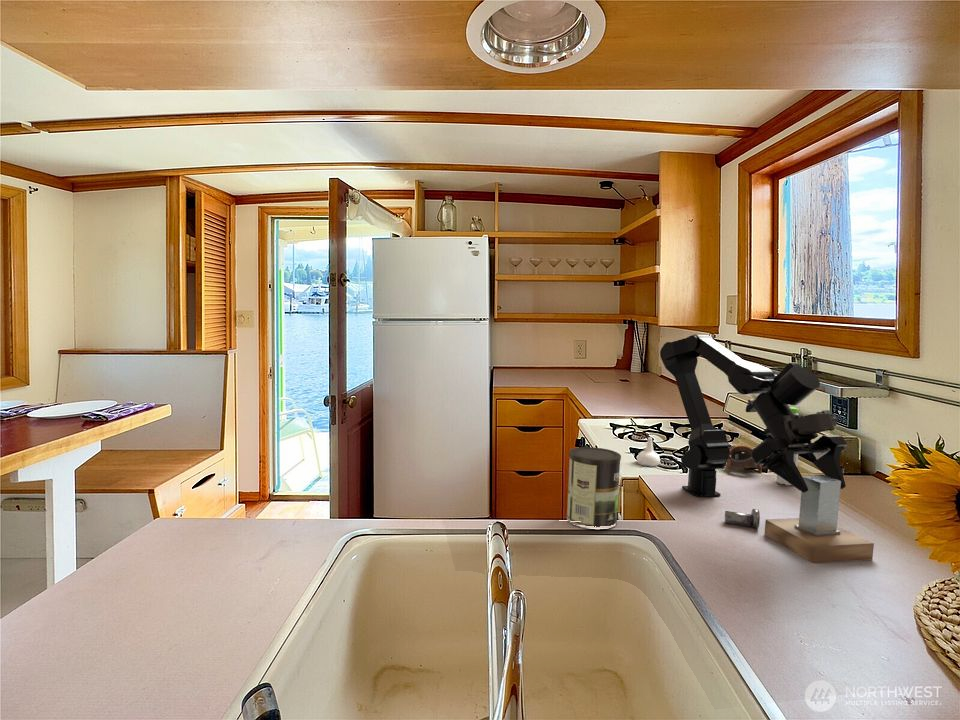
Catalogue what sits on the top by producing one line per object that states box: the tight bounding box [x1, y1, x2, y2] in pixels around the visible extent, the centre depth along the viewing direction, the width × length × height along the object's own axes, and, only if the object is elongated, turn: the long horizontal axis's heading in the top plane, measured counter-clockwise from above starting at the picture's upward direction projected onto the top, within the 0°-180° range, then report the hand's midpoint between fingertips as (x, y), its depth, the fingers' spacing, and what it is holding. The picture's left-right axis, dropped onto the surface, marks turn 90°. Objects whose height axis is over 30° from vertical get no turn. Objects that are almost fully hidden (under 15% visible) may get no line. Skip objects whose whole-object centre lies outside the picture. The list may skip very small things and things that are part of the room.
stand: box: [763, 517, 875, 564], centre depth 96 cm, size 12×12×3 cm
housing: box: [794, 474, 841, 537], centre depth 96 cm, size 4×6×10 cm
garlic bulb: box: [636, 437, 661, 467], centre depth 148 cm, size 6×6×8 cm
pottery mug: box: [725, 444, 763, 473], centre depth 146 cm, size 12×10×8 cm
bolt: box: [724, 508, 761, 529], centre depth 105 cm, size 6×4×4 cm, turn 70°
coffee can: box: [566, 446, 622, 527], centre depth 105 cm, size 10×10×14 cm
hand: (825, 489), depth 95 cm, fingers open, 9 cm apart
